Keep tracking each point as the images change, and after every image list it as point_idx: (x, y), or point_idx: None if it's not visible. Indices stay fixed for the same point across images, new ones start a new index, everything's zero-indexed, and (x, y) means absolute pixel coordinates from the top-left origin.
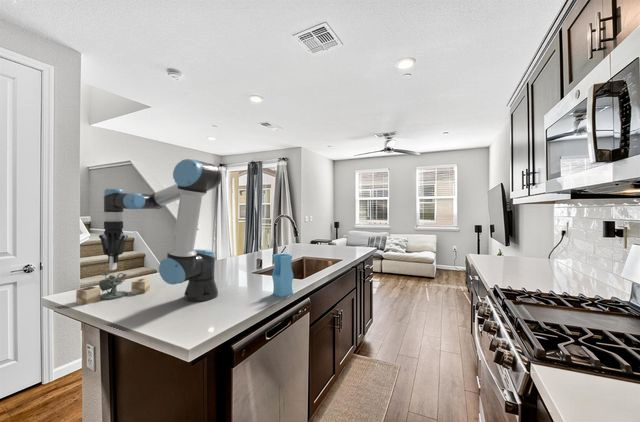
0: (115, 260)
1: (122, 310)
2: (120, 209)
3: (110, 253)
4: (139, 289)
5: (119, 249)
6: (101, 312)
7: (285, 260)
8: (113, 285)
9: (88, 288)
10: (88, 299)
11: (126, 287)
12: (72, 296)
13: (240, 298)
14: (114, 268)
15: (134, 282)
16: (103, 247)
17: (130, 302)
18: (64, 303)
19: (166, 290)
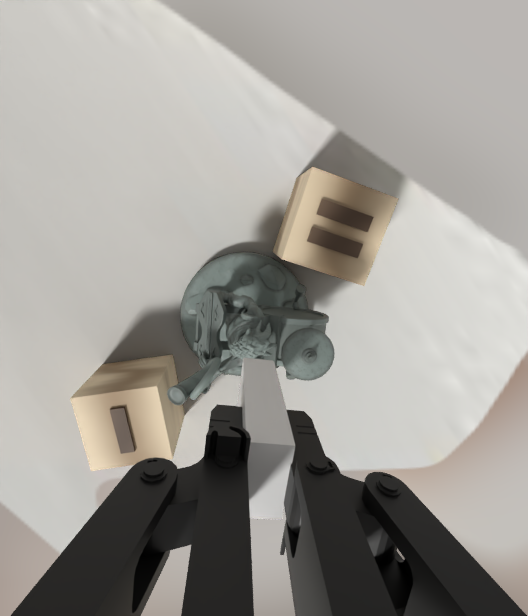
0: (215, 422)
1: (13, 53)
2: None
3: (299, 494)
4: (122, 370)
5: (72, 553)
6: (115, 25)
7: None
8: (213, 290)
9: (343, 234)
10: (297, 186)
11: None
12: (454, 314)
13: None
14: (240, 386)
15: (138, 387)
16: (496, 605)
17: (70, 202)
18: (421, 201)
19: (9, 415)
